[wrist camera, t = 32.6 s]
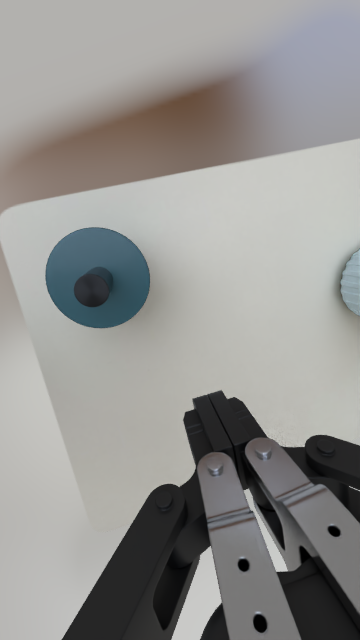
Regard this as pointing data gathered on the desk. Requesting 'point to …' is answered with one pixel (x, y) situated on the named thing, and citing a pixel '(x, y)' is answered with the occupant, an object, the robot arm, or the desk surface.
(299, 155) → the desk surface
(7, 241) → the desk surface
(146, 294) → the lid
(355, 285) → the vase
